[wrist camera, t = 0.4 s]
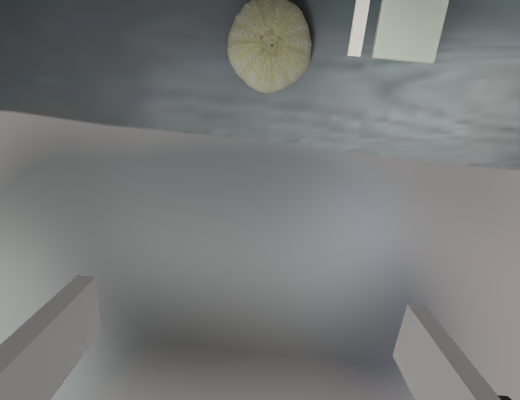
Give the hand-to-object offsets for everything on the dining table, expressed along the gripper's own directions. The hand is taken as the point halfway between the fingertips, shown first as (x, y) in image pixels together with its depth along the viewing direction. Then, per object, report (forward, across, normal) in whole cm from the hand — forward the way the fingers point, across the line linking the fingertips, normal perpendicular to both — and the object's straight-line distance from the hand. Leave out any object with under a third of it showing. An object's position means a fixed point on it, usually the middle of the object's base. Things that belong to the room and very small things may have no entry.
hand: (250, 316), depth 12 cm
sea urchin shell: (+27, 0, +15) cm, 31 cm away
